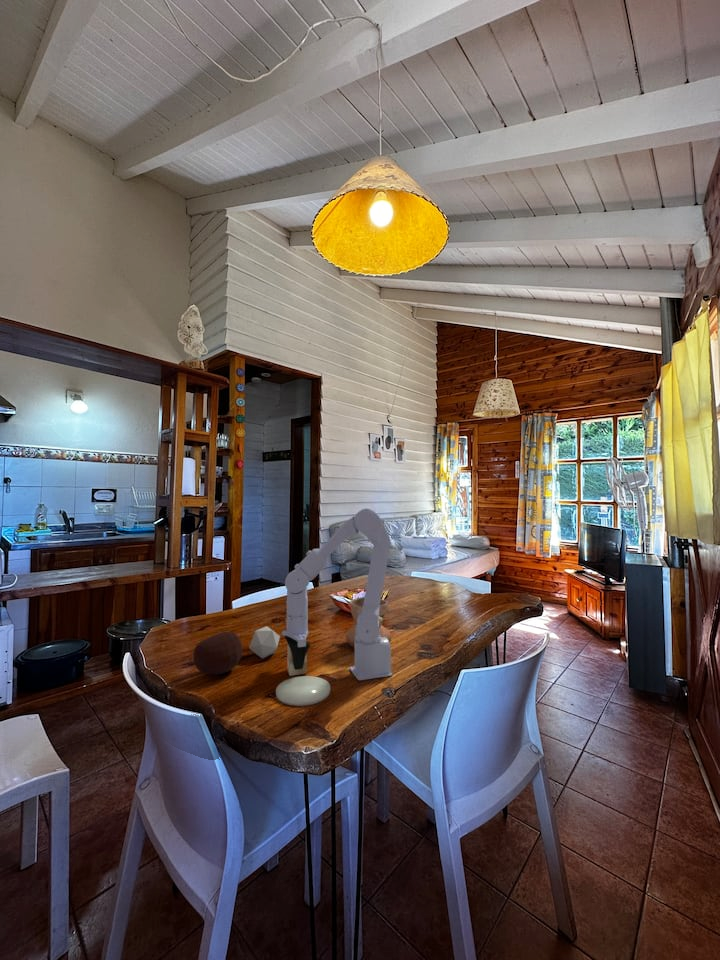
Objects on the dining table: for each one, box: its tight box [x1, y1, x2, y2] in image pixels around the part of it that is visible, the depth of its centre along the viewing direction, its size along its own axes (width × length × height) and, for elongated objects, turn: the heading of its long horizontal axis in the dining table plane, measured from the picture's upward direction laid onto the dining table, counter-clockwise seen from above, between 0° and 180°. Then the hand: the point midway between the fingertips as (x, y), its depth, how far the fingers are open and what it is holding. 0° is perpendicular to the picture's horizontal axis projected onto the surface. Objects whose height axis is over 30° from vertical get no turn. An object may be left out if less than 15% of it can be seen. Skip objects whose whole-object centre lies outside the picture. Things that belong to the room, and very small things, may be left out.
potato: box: [192, 631, 243, 676], centre depth 108 cm, size 11×13×10 cm
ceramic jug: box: [345, 596, 392, 649], centre depth 128 cm, size 18×14×14 cm
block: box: [286, 643, 308, 677], centre depth 108 cm, size 4×4×7 cm
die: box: [248, 626, 281, 660], centre depth 120 cm, size 8×9×10 cm
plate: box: [275, 675, 331, 707], centre depth 97 cm, size 13×13×1 cm
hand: (296, 665), depth 108 cm, fingers closed on block, 4 cm apart
